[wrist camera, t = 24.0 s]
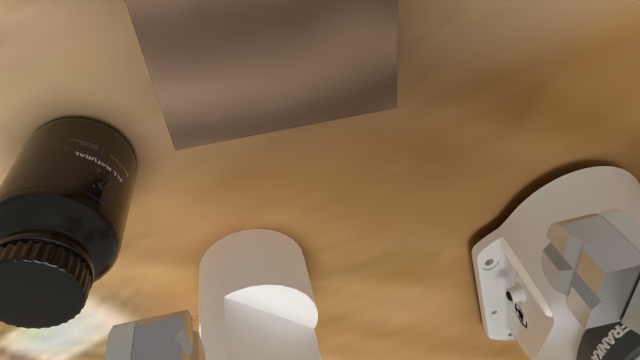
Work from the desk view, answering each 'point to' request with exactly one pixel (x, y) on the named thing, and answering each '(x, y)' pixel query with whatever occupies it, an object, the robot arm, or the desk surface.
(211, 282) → the cylinder with rectangular tab
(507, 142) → the desk surface
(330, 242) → the desk surface
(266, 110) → the walnut riser
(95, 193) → the supplement bottle
